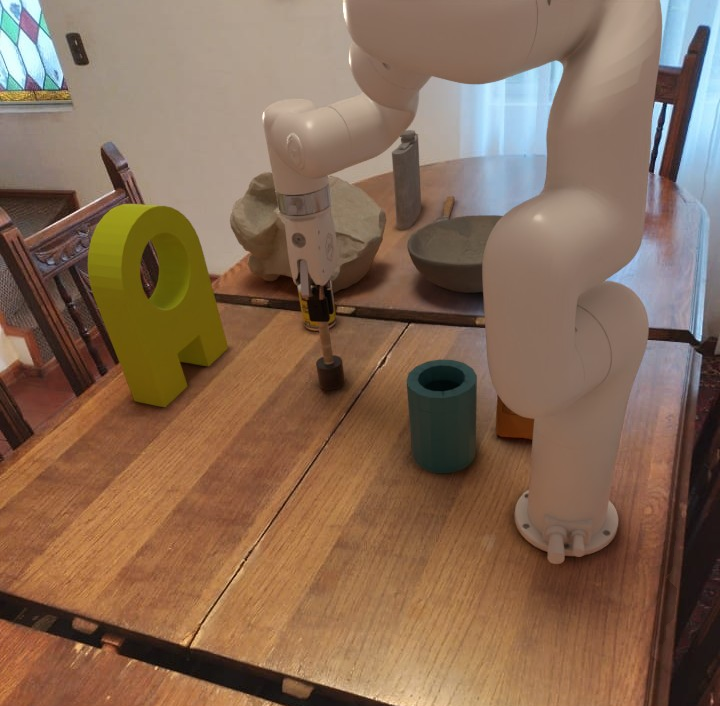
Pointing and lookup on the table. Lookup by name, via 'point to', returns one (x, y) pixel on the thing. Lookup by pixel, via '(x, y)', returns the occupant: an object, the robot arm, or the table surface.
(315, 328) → the pill bottle
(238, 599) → the table surface
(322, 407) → the table surface
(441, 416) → the jar
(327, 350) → the scrub brush
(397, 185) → the hip flask
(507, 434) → the coffee package
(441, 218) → the knife
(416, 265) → the bowl
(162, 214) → the decorative object
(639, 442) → the table surface
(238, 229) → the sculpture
